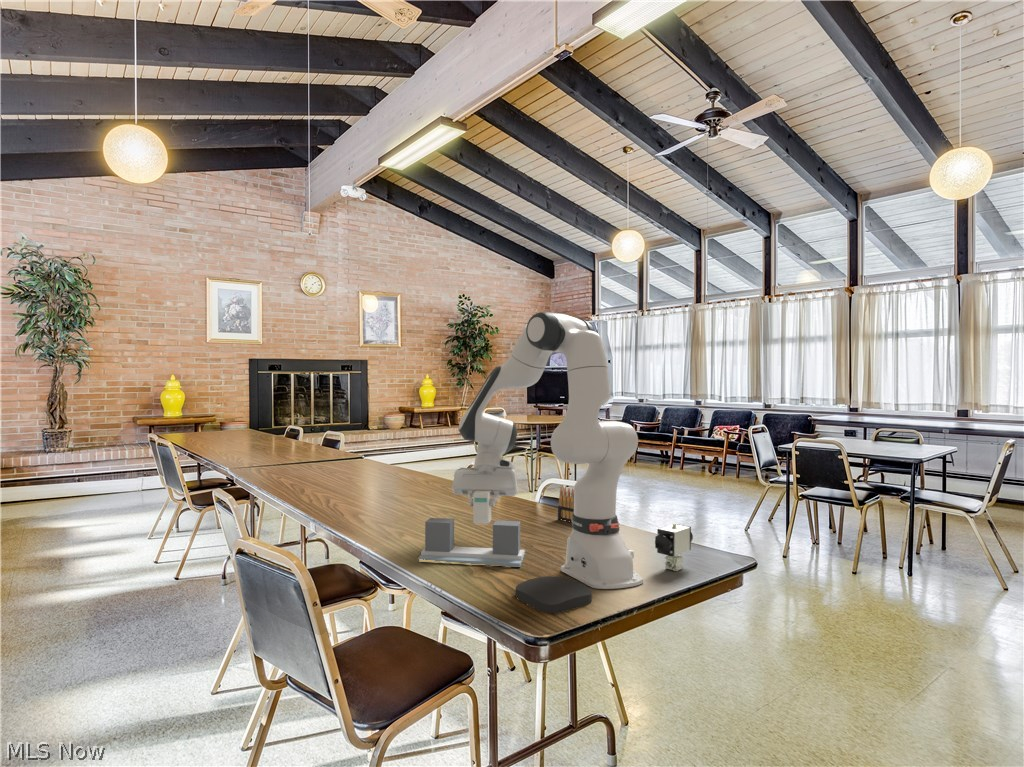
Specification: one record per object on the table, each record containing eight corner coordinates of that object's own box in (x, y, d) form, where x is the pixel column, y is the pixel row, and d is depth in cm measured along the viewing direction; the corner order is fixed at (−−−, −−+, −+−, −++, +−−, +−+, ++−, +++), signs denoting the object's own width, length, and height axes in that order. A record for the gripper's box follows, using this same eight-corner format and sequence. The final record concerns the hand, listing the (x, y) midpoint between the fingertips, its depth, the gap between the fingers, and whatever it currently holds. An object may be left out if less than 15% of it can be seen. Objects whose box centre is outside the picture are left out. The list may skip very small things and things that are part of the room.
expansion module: (488, 524, 164) (488, 493, 164) (473, 523, 165) (473, 493, 165) (491, 520, 170) (491, 490, 170) (476, 519, 170) (476, 490, 170)
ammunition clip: (557, 519, 200) (557, 486, 200) (560, 518, 202) (561, 485, 202) (581, 525, 193) (581, 490, 193) (584, 524, 194) (584, 489, 194)
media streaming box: (548, 618, 116) (548, 604, 116) (508, 596, 128) (508, 583, 128) (599, 602, 125) (599, 589, 125) (556, 583, 137) (557, 571, 137)
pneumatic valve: (693, 566, 150) (693, 521, 150) (670, 576, 142) (670, 529, 142) (674, 561, 154) (675, 518, 154) (651, 570, 146) (651, 525, 146)
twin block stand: (520, 567, 147) (520, 529, 147) (417, 562, 151) (418, 525, 151) (525, 554, 159) (525, 518, 159) (430, 549, 163) (430, 514, 163)
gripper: (454, 461, 176) (446, 498, 166) (518, 462, 173) (514, 500, 163) (457, 473, 180) (449, 510, 170) (519, 474, 178) (516, 512, 168)
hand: (481, 505), depth 167 cm, fingers closed on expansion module, 4 cm apart
